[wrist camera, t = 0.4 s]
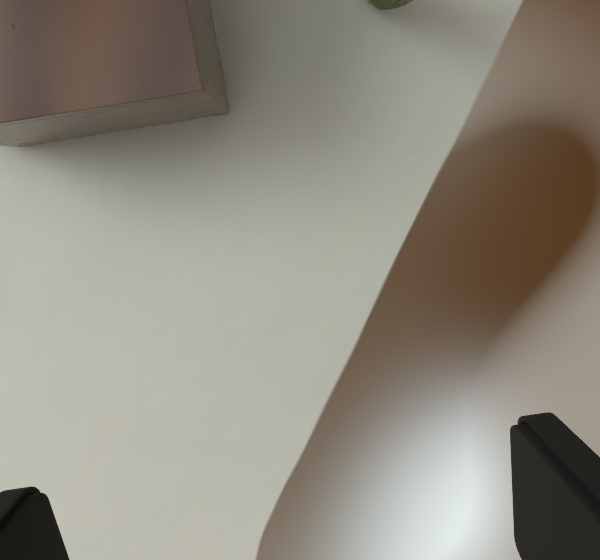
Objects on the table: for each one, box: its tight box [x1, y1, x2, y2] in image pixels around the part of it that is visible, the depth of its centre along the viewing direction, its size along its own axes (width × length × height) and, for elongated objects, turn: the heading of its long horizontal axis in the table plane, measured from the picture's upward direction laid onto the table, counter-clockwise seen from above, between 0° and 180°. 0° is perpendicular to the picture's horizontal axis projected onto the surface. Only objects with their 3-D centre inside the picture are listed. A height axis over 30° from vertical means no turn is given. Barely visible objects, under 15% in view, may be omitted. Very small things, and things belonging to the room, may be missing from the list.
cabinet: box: [0, 0, 230, 147], centre depth 28 cm, size 17×14×11 cm
